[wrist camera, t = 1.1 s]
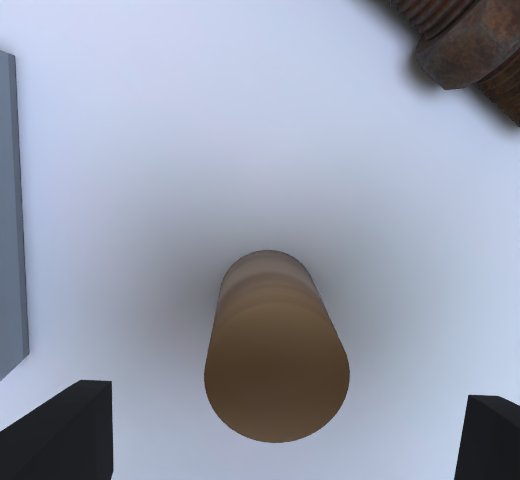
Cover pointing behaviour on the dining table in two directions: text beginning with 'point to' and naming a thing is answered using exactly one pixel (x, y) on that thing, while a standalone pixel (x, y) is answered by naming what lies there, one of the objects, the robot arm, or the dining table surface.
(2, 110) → the socket block
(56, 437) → the robot arm
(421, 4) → the bolt
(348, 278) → the dining table surface
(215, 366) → the peg
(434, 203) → the dining table surface
